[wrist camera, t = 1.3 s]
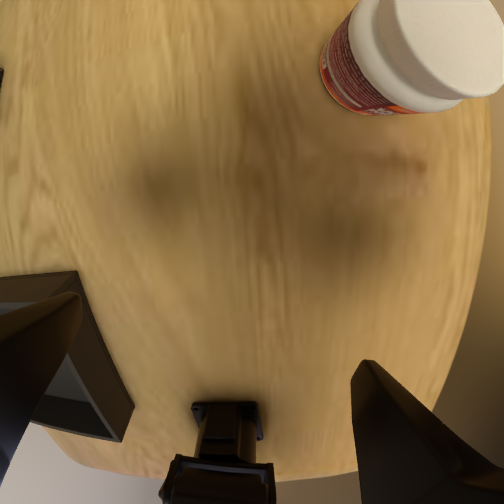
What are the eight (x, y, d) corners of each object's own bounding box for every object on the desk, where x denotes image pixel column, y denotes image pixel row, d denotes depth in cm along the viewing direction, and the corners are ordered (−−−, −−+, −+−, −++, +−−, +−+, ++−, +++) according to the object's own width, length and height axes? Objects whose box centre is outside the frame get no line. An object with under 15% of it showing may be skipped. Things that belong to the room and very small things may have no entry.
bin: (135, 406, 29) (121, 442, 24) (31, 390, 30) (14, 417, 25) (76, 270, 23) (44, 301, 18) (-26, 279, 24) (-54, 301, 19)
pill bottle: (355, 132, 18) (452, 146, 8) (297, 56, 17) (339, -18, 6) (421, 88, 17) (539, 77, 6) (368, 15, 15) (454, -57, 5)
